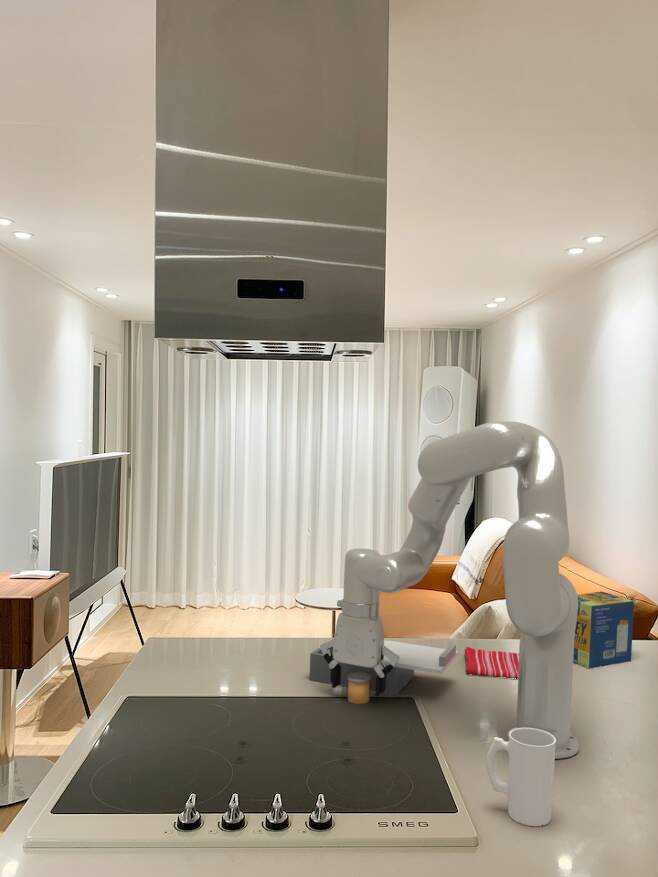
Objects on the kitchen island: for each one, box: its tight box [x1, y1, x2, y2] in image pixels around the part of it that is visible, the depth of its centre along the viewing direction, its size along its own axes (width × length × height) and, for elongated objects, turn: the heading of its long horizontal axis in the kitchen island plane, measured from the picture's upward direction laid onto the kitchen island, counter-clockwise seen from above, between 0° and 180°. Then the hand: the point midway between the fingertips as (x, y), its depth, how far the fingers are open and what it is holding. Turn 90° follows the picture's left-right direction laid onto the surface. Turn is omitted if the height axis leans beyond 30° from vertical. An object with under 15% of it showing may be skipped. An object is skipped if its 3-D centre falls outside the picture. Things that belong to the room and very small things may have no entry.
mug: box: [485, 728, 556, 827], centre depth 114 cm, size 10×7×12 cm, turn 68°
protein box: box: [573, 591, 635, 669], centre depth 191 cm, size 10×15×16 cm
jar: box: [347, 672, 371, 705], centre depth 159 cm, size 5×5×5 cm
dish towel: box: [464, 646, 519, 680], centre depth 182 cm, size 17×24×3 cm
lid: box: [382, 639, 459, 675], centre depth 168 cm, size 15×20×3 cm
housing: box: [309, 637, 415, 696], centre depth 172 cm, size 14×20×6 cm
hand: (357, 690), depth 159 cm, fingers open, 9 cm apart
